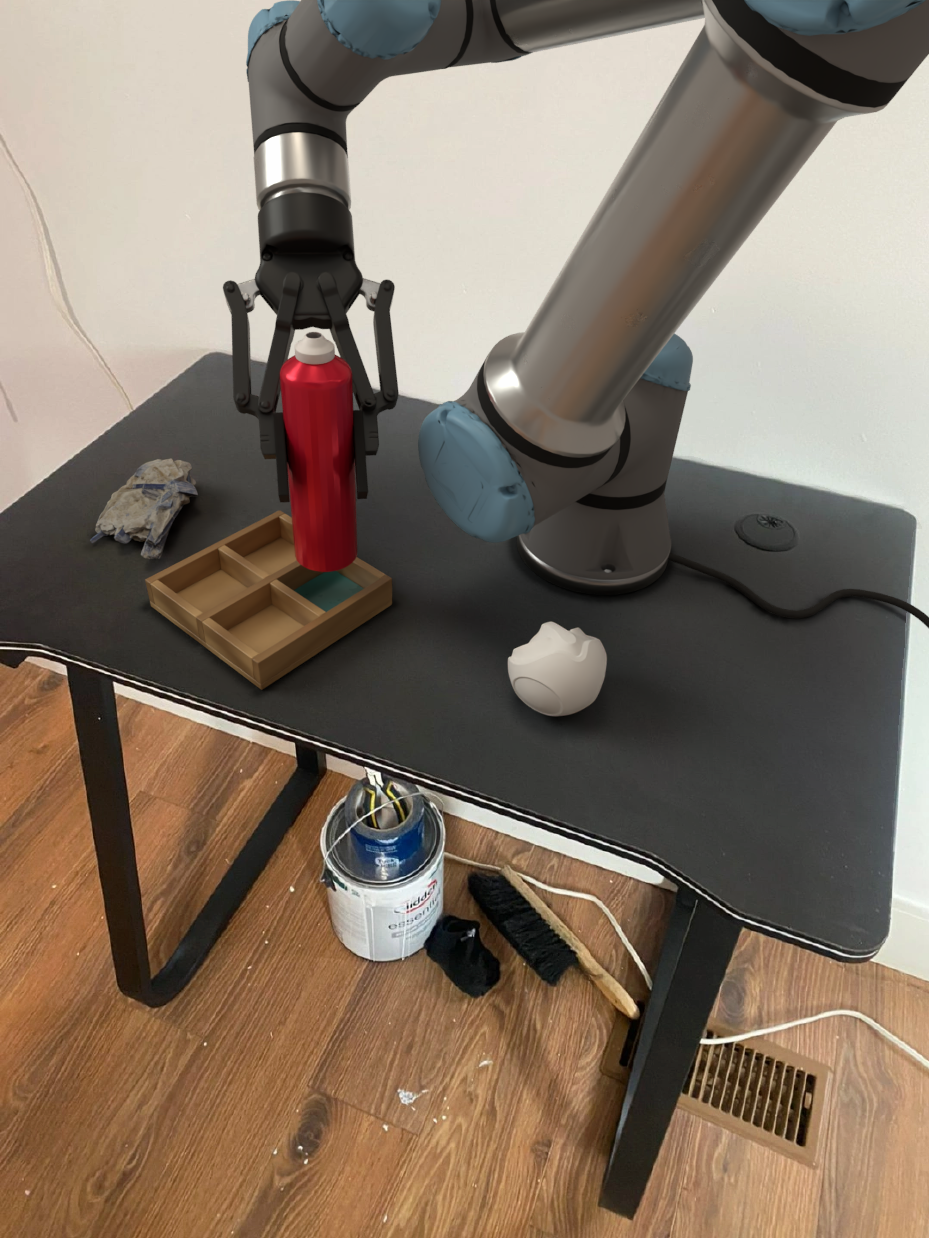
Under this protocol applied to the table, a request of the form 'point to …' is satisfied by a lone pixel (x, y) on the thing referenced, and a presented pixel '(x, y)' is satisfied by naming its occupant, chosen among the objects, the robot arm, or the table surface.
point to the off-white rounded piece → (558, 670)
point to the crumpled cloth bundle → (148, 505)
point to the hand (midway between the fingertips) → (323, 496)
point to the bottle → (320, 454)
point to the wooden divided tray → (265, 600)
